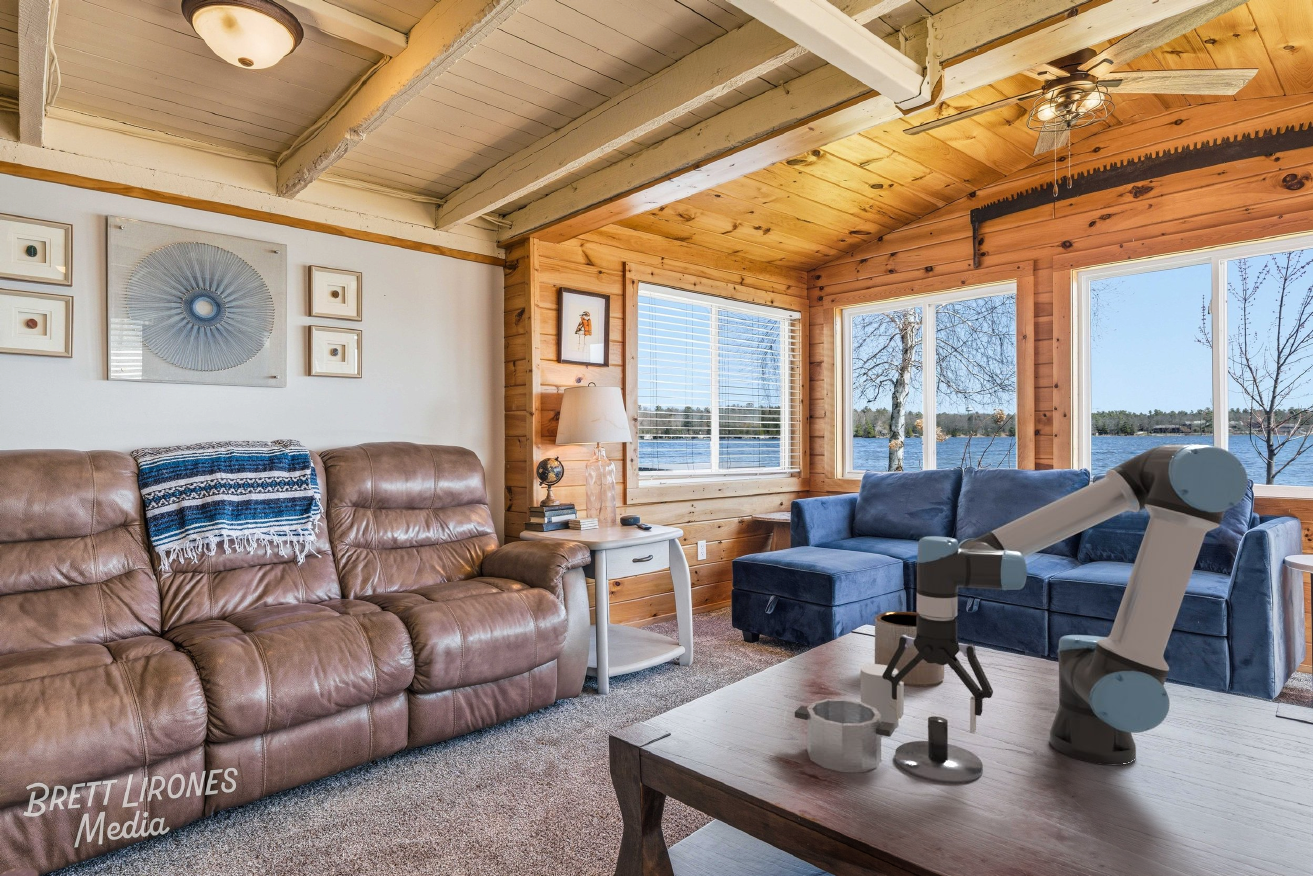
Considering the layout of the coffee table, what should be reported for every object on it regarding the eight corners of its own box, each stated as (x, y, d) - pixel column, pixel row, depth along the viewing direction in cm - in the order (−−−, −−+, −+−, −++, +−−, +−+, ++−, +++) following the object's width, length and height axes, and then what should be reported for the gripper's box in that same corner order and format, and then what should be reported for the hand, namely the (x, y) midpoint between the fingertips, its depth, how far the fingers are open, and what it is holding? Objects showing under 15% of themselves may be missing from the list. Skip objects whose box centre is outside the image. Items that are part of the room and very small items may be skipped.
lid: (987, 759, 143) (987, 714, 143) (976, 793, 129) (976, 743, 129) (904, 742, 151) (904, 699, 151) (886, 772, 138) (886, 725, 138)
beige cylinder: (900, 731, 156) (900, 676, 156) (862, 728, 158) (862, 674, 158) (896, 717, 164) (895, 665, 164) (859, 714, 166) (859, 663, 166)
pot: (900, 753, 145) (900, 709, 145) (883, 782, 133) (883, 733, 133) (809, 734, 155) (809, 692, 155) (786, 758, 143) (785, 714, 143)
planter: (861, 670, 198) (861, 613, 198) (915, 664, 203) (915, 609, 203) (901, 691, 181) (901, 629, 181) (959, 684, 186) (958, 624, 186)
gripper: (1008, 620, 137) (1007, 730, 137) (877, 604, 150) (876, 704, 150) (1004, 629, 131) (1003, 745, 131) (868, 611, 144) (866, 716, 144)
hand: (935, 723), depth 140 cm, fingers open, 13 cm apart
